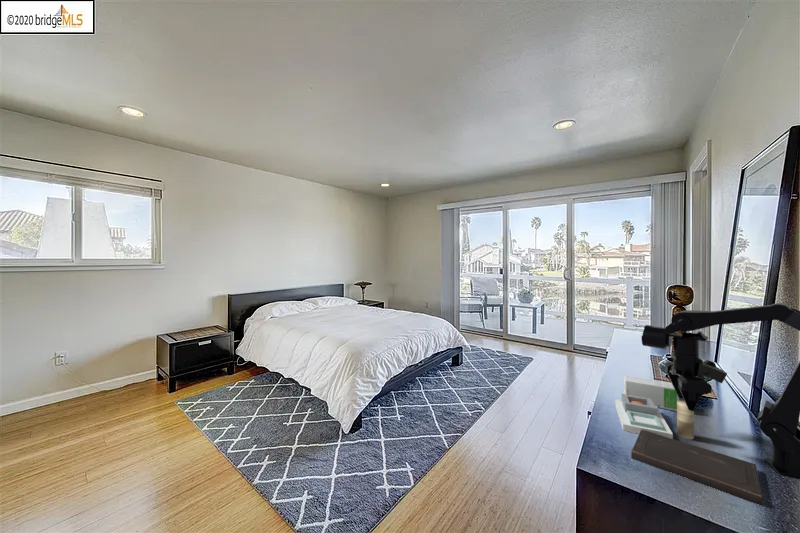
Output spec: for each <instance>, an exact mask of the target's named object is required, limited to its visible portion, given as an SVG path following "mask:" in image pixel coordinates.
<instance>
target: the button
mask: <svg viewBox="0 0 800 533" xmlns="http://www.w3.org/2000/svg"><path fill="white" fill-rule="evenodd" d="M630 403H635V404H641V405H646V404H644V403H642V402H638V401H631V402H630Z"/></svg>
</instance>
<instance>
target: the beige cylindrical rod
mask: <svg viewBox="0 0 800 533" xmlns="http://www.w3.org/2000/svg"><path fill="white" fill-rule="evenodd" d="M676 435H677V436H678V437H680V438H681V439H685V440H689V441H691V440H694V439H695V410H694V411H690V410H688V407H687V405H686V403H685V401H684V400H679V401H677V411H676Z"/></svg>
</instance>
